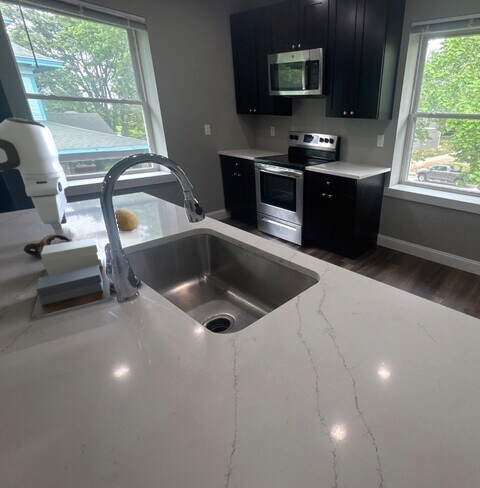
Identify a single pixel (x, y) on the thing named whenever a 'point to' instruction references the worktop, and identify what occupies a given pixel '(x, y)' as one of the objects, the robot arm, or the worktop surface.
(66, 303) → the shallow tray
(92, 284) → the grey stack
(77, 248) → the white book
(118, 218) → the potato
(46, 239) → the pottery mug
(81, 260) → the white stack
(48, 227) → the cylindrical container
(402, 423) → the worktop surface
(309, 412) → the worktop surface
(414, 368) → the worktop surface
